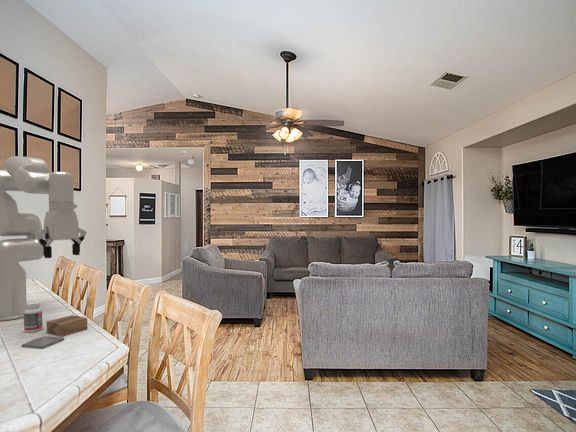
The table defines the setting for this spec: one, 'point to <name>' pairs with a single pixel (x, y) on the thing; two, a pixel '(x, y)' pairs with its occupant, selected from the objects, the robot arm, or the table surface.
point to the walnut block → (66, 325)
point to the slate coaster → (43, 342)
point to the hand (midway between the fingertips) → (62, 256)
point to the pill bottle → (33, 317)
